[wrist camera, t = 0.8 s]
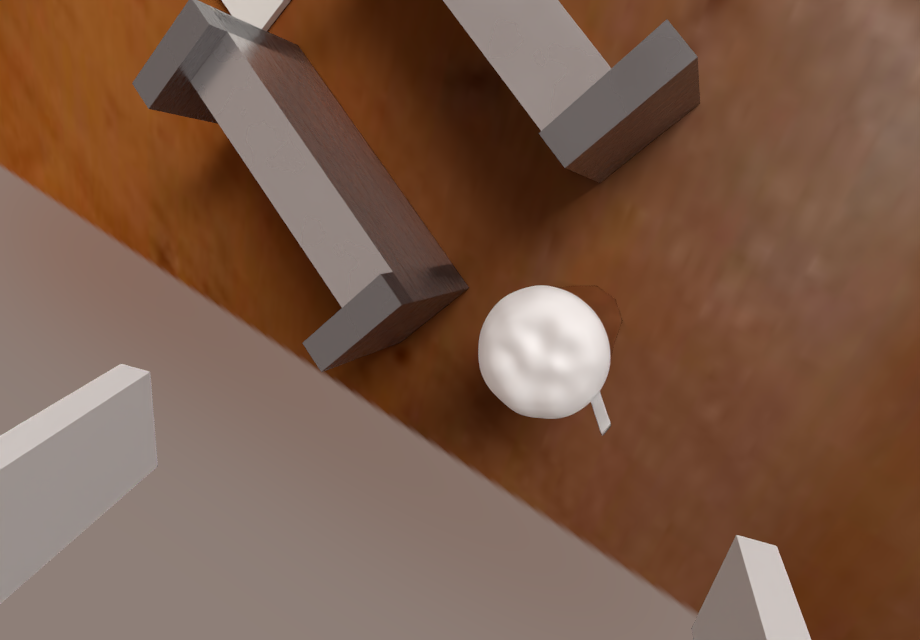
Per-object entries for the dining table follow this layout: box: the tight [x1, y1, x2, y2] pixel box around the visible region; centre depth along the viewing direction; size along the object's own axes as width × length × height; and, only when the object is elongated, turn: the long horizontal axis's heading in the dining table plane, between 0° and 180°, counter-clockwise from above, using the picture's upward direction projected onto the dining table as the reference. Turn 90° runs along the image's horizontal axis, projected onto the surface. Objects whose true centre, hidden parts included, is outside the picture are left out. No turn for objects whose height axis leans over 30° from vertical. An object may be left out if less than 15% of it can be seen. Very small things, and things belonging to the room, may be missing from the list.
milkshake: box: [478, 285, 623, 435], centre depth 22 cm, size 4×5×10 cm
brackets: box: [132, 0, 700, 372], centre depth 25 cm, size 16×18×7 cm
